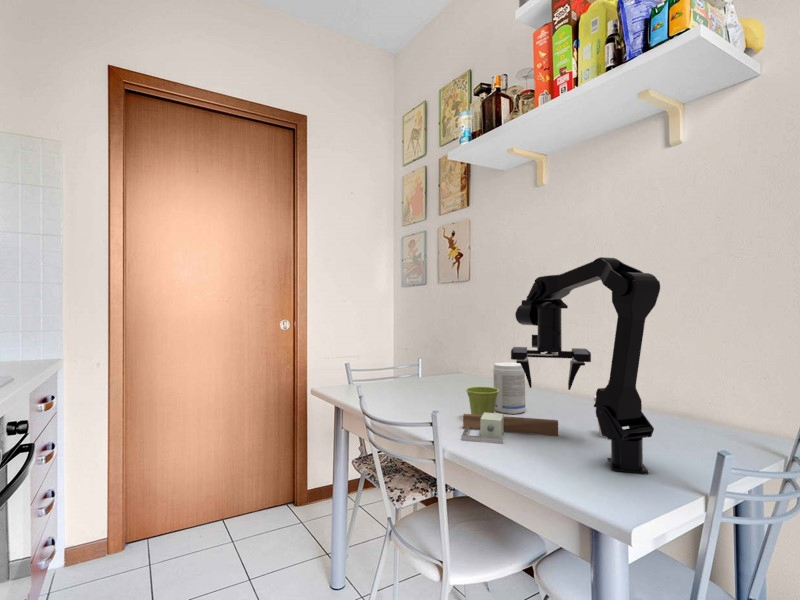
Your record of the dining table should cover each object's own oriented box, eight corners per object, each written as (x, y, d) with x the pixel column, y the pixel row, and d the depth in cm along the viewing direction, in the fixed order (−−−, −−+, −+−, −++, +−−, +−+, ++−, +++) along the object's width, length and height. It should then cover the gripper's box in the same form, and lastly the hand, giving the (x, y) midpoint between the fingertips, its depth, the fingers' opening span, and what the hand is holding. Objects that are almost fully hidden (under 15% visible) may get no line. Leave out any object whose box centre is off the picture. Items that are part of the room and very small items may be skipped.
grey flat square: (503, 443, 105) (503, 439, 105) (461, 439, 108) (461, 435, 108) (505, 432, 114) (505, 428, 114) (466, 429, 117) (466, 425, 117)
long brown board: (558, 435, 111) (558, 422, 111) (463, 428, 118) (463, 415, 118) (557, 433, 113) (557, 420, 113) (464, 426, 120) (464, 413, 120)
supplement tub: (531, 411, 138) (531, 363, 138) (514, 416, 131) (514, 366, 131) (504, 406, 145) (504, 361, 145) (487, 410, 138) (487, 363, 138)
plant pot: (482, 425, 121) (482, 394, 121) (459, 418, 129) (459, 388, 129) (506, 420, 126) (506, 390, 126) (482, 414, 134) (482, 385, 134)
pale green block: (500, 442, 107) (500, 421, 107) (479, 440, 108) (479, 419, 108) (503, 433, 114) (503, 413, 114) (484, 431, 116) (484, 412, 116)
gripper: (585, 325, 116) (585, 384, 116) (512, 324, 122) (512, 381, 121) (591, 327, 106) (591, 393, 105) (510, 326, 111) (511, 388, 111)
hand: (549, 388), depth 111 cm, fingers open, 9 cm apart
